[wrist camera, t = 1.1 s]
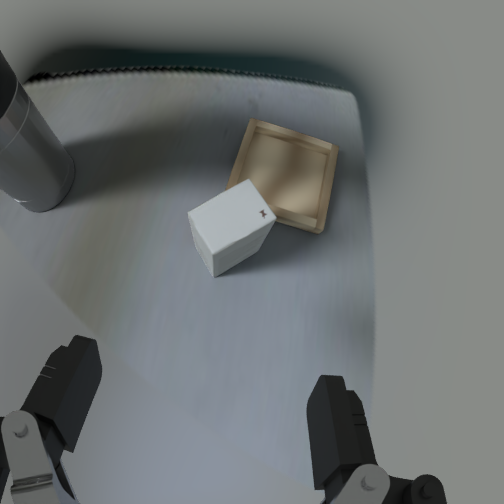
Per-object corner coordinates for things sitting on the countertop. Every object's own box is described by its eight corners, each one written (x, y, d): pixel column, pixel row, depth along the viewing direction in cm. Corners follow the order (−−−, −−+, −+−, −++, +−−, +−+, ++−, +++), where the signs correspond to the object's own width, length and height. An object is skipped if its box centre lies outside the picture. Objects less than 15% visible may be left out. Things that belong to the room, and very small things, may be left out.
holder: (221, 205, 38) (222, 199, 36) (248, 125, 41) (250, 117, 39) (318, 234, 39) (323, 230, 37) (334, 153, 42) (339, 146, 40)
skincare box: (238, 221, 38) (251, 175, 26) (258, 252, 37) (280, 218, 26) (193, 247, 37) (185, 211, 25) (212, 279, 36) (213, 257, 24)
